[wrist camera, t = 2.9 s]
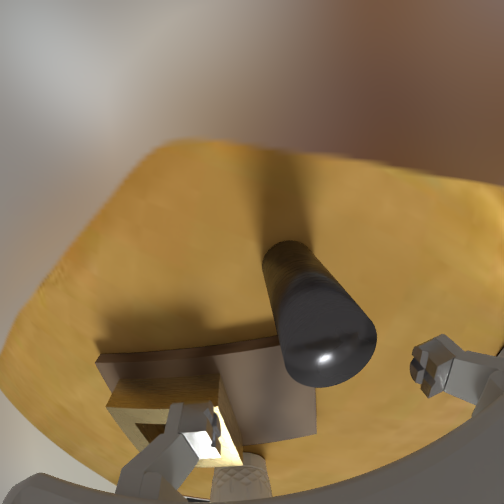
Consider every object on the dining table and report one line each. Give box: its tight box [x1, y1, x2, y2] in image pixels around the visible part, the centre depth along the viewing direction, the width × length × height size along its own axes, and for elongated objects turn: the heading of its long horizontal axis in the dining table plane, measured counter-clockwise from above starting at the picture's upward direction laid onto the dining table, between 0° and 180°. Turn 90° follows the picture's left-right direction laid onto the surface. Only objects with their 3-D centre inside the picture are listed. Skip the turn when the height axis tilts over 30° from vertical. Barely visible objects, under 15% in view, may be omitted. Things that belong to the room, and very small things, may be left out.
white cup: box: [210, 452, 273, 502], centre depth 23 cm, size 8×8×10 cm
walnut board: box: [95, 335, 317, 446], centre depth 24 cm, size 20×14×2 cm
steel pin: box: [262, 240, 377, 388], centre depth 15 cm, size 4×4×11 cm
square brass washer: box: [106, 373, 243, 467], centre depth 21 cm, size 10×10×4 cm
